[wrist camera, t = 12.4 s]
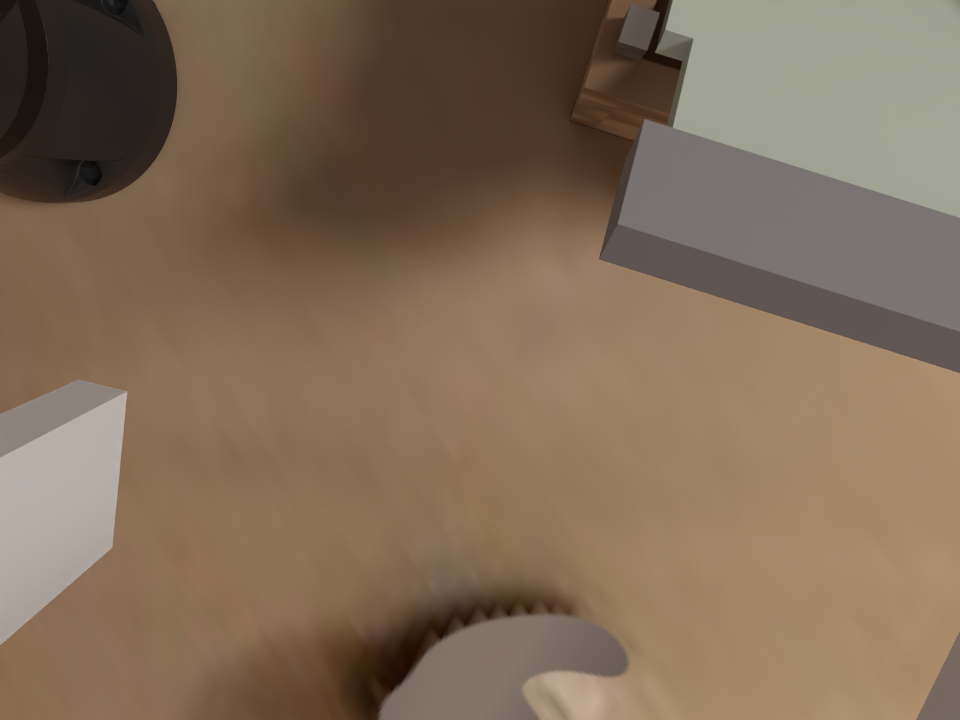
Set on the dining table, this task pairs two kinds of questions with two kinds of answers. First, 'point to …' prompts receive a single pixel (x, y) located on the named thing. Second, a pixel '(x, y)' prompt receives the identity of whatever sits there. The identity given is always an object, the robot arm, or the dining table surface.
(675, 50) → the lid
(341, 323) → the dining table surface
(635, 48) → the crate
